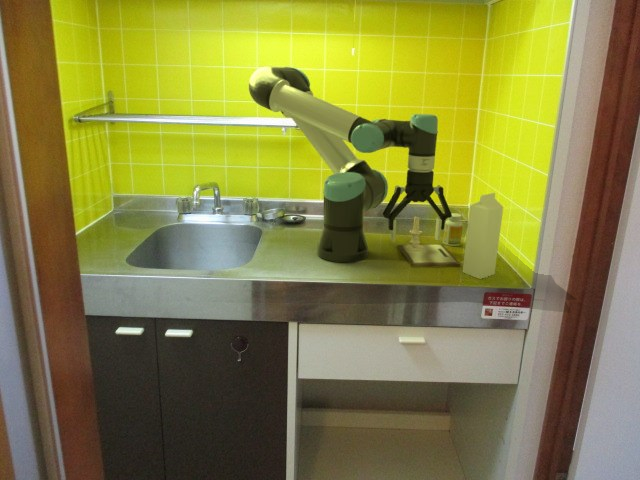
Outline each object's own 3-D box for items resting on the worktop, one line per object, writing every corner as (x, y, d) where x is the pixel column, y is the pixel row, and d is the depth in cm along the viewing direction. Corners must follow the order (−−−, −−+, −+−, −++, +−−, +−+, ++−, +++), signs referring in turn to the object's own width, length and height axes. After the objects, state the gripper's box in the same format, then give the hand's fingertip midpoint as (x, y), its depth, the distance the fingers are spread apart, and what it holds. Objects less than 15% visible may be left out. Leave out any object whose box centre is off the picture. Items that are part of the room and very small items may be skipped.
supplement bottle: (439, 243, 158) (442, 214, 155) (450, 240, 161) (452, 211, 158) (453, 247, 154) (456, 218, 151) (464, 244, 157) (467, 215, 154)
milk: (494, 275, 133) (506, 195, 126) (480, 279, 130) (491, 198, 123) (475, 268, 138) (486, 190, 131) (461, 272, 135) (471, 193, 128)
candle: (421, 246, 152) (424, 213, 149) (424, 251, 147) (427, 218, 144) (404, 245, 152) (406, 212, 149) (406, 251, 147) (409, 217, 144)
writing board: (411, 267, 138) (411, 263, 138) (397, 247, 154) (398, 243, 154) (460, 266, 139) (460, 262, 139) (441, 246, 155) (442, 243, 155)
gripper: (380, 172, 138) (376, 244, 144) (467, 172, 140) (459, 243, 146) (375, 167, 145) (371, 236, 151) (458, 167, 147) (451, 235, 153)
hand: (415, 240), depth 149 cm, fingers open, 13 cm apart
